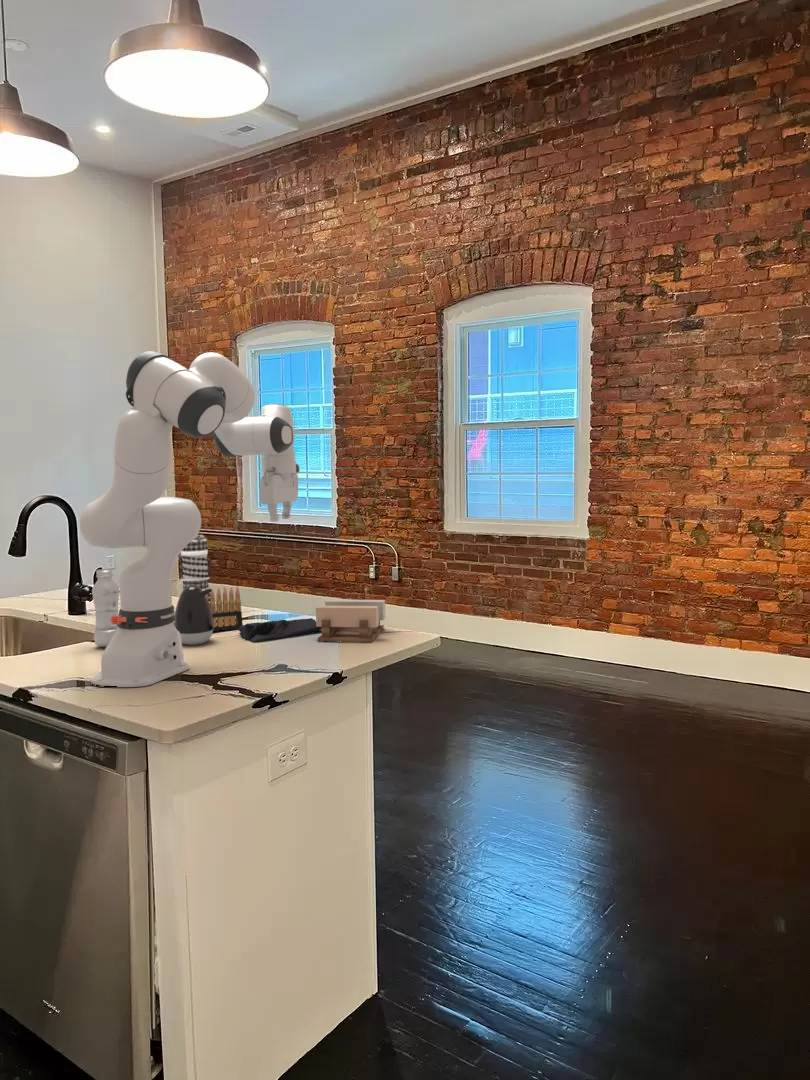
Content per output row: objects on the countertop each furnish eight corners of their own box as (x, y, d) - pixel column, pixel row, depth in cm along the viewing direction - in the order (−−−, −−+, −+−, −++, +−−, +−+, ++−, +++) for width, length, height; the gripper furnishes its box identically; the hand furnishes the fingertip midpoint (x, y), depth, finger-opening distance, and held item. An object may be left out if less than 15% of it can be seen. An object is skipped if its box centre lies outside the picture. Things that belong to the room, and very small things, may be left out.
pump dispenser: (205, 648, 201) (202, 588, 199) (167, 646, 203) (164, 588, 201) (222, 639, 211) (219, 582, 209) (186, 638, 213) (183, 582, 211)
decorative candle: (176, 617, 243) (172, 535, 241) (203, 612, 249) (200, 533, 247) (190, 621, 236) (186, 537, 234) (218, 616, 243) (214, 534, 240)
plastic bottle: (94, 645, 206) (89, 569, 205) (122, 642, 209) (117, 567, 207) (94, 650, 200) (89, 572, 199) (122, 648, 203) (118, 570, 201)
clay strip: (378, 625, 207) (378, 606, 207) (376, 627, 204) (375, 608, 204) (319, 624, 210) (318, 605, 209) (316, 626, 207) (315, 607, 206)
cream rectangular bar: (385, 618, 216) (385, 600, 215) (383, 620, 213) (382, 601, 212) (328, 617, 219) (327, 599, 218) (325, 619, 216) (325, 601, 215)
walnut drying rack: (370, 642, 202) (370, 621, 202) (317, 641, 205) (316, 620, 204) (384, 628, 219) (383, 609, 218) (334, 628, 221) (334, 608, 221)
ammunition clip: (241, 627, 225) (240, 585, 224) (243, 628, 224) (241, 586, 222) (203, 631, 221) (201, 588, 220) (204, 632, 219) (202, 589, 218)
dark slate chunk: (329, 635, 215) (328, 618, 214) (249, 645, 205) (248, 627, 204) (309, 625, 228) (308, 609, 228) (233, 634, 218) (232, 617, 218)
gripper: (276, 467, 198) (279, 523, 199) (301, 466, 218) (303, 517, 219) (252, 468, 199) (255, 523, 200) (279, 467, 219) (281, 517, 220)
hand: (280, 519), depth 210 cm, fingers open, 8 cm apart
